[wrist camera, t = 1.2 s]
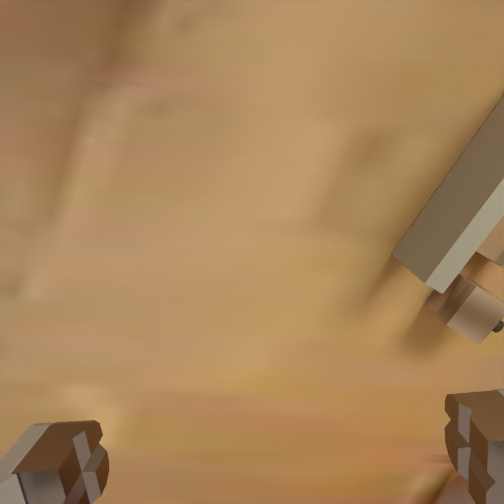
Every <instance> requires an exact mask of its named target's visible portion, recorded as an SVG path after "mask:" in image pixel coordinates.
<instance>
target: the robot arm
mask: <svg viewBox="0 0 504 504" xmlns="http://www.w3.org/2000/svg"><path fill="white" fill-rule="evenodd" d="M445 411H446V413H447V414H448V416H449V417H450V419H451V420H450V421H449V423H448V424H447V425H446V427H445V442H446V447H447V451H448V455H449V457H450V460H451V462H452V464H453V466H454V468H455V470H456V471H457V473H458V474H459V475H461V476H462V477H464V478H466V479H467V480H468V492H469V493H470V495H471V497H472V498H473V500H474V502H475V503H476V504H504V389H496V390H493V391H481V392H469V393H457V394H447V396H446V399H445ZM102 436H103V434H102V430H101V427H100V423H98V422H97V421H95V420H89V421H69V422H56V423H53V422H51V423H38V424H34V425H32V426H30V427H29V428H28V429H27V430H26V432H25V433H24V434H23V435H22V436H21V437H20V438H19V439H18V441H17V442H16V443H15V444H14V445H13V446H12V447H11V448H10V450H9V451H8V452H7V453H6V454H5V455H4V456H3V457H2V459H1V460H0V504H92V503H93V502H94V501H95V500H96V499H98V498H99V497H100V496H101V495H102V493H103V490H104V488H105V486H106V483H107V479H108V474H109V459H108V454H107V451H106V450H105V449H104V448H103V447H102V446H101V445H100V444H99V442H100V440H101V438H102Z"/></svg>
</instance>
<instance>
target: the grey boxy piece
mask: <svg viewBox="0 0 504 504" xmlns="http://www.w3.org/2000/svg"><path fill="white" fill-rule="evenodd" d="M475 252H476V253H478V254H480V255H481V256H483V257H485V258H486V259H488V260H490V261H492V262H494V263H496V264H497V265H499V266H501V267H503V268H504V95H503V97H502V98H501V100H500V101H499V102H498V104H497V105H496V107H495V108H494V110H493V111H492V112H491V114H490V115H489V117H488V118H487V119H486V121H485V122H484V124H483V125H482V127H481V128H480V129H479V131H478V132H477V134H476V135H475V136H474V138H473V139H472V141H471V142H470V143H469V145H468V146H467V148H466V149H465V151H464V152H463V153H462V155H461V156H460V158H459V159H458V160H457V162H456V163H455V165H454V166H453V168H452V169H451V170H450V172H449V173H448V175H447V176H446V177H445V179H444V180H443V182H442V183H441V185H440V186H439V187H438V189H437V190H436V192H435V193H434V194H433V196H432V197H431V199H430V200H429V202H428V203H427V204H426V206H425V207H424V209H423V210H422V211H421V213H420V214H419V216H418V217H417V218H416V220H415V221H414V223H413V224H412V226H411V227H410V228H409V230H408V231H407V233H406V234H405V235H404V237H403V238H402V240H401V241H400V243H399V244H398V245H397V247H396V248H395V250H394V251H393V252H392V255H393V256H394V257H395V258H397V259H398V260H399V261H400V262H401V263H402V264H403V265H404V266H406V267H407V268H408V269H409V270H410V271H411V272H412V273H413V274H414V275H416V276H417V277H418V278H419V279H420V280H421V281H422V282H423V283H425V284H426V285H428V286H430V287H431V288H433V289H435V290H437V291H438V292H440V293H442V294H443V293H444V292H445V290H446V289H447V288H448V287H449V285H450V284H451V283H452V281H453V280H454V279H455V278H456V276H457V275H458V274H459V272H460V271H461V270H462V268H463V267H464V266H465V265H466V263H467V262H468V261H469V259H470V258H471V257H472V255H473V254H474V253H475Z"/></svg>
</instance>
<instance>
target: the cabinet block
mask: <svg viewBox="0 0 504 504" xmlns="http://www.w3.org/2000/svg"><path fill="white" fill-rule="evenodd" d="M424 303H425V304H426V305H427V306H428V307H429V308H430V309H431V310H432V311H433V312H434V313H435V314H436V315H437V316H438V317H439V318H440V319H441V320H442V322H443V323H444V324H445V325H447V326H448V327H450V328H452V329H454V330H455V331H457V332H459V333H461V334H462V335H464V336H466V337H468V338H469V339H471V340H473V341H475V342H476V343H478V344H481V343H482V342H483V341H484V340H485V338H486V337H487V336H488V335H489V334H490V332H491V331H494V332H499V331H501V330H502V328H503V326H504V323H503V321H501V319H502V318H503V317H504V302H503V301H502V300H500V299H499V298H497V297H496V296H494V295H493V294H492V293H490V292H489V291H487V290H486V289H484V288H483V287H481V286H479V285H478V284H476V283H474V282H473V281H471V280H469V279H468V278H466V277H464V276H463V275H461V274H458V275H457V276H456V278H455V279H454V280H453V281H452V283H451V284H450V285H449V287H448V288H447V289H446V290H445V292H444V293H443V294H442V293H440V292H438V291H437V290H435V289H434V290H433V292H432V293H431V294H430V296H429V297H428V298H427V299H426V301H425V302H424Z"/></svg>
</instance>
